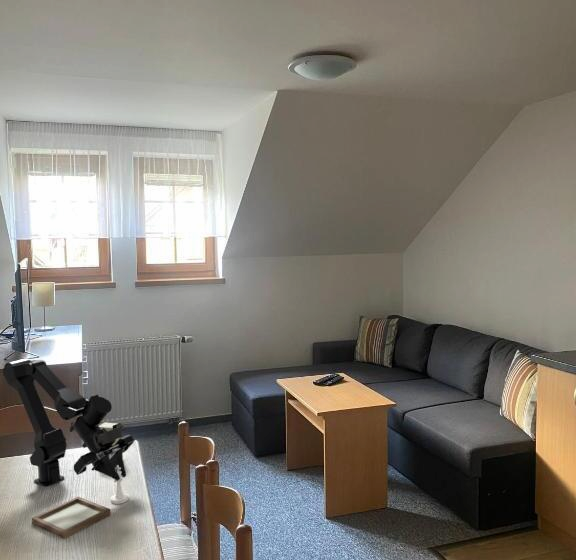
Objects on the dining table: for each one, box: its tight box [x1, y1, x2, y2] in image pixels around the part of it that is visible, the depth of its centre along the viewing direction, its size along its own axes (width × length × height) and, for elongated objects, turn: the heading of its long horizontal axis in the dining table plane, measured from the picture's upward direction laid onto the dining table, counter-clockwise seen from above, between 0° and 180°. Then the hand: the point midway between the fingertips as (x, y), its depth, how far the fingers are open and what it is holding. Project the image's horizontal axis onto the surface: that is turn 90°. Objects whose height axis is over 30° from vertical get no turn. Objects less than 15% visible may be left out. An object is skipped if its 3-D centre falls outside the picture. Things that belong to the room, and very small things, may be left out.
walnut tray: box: [31, 496, 112, 540], centre depth 152 cm, size 14×14×2 cm
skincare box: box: [98, 422, 124, 460], centre depth 190 cm, size 6×4×12 cm
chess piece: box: [110, 465, 129, 505], centre depth 162 cm, size 5×5×10 cm
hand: (121, 477), depth 161 cm, fingers closed on chess piece
